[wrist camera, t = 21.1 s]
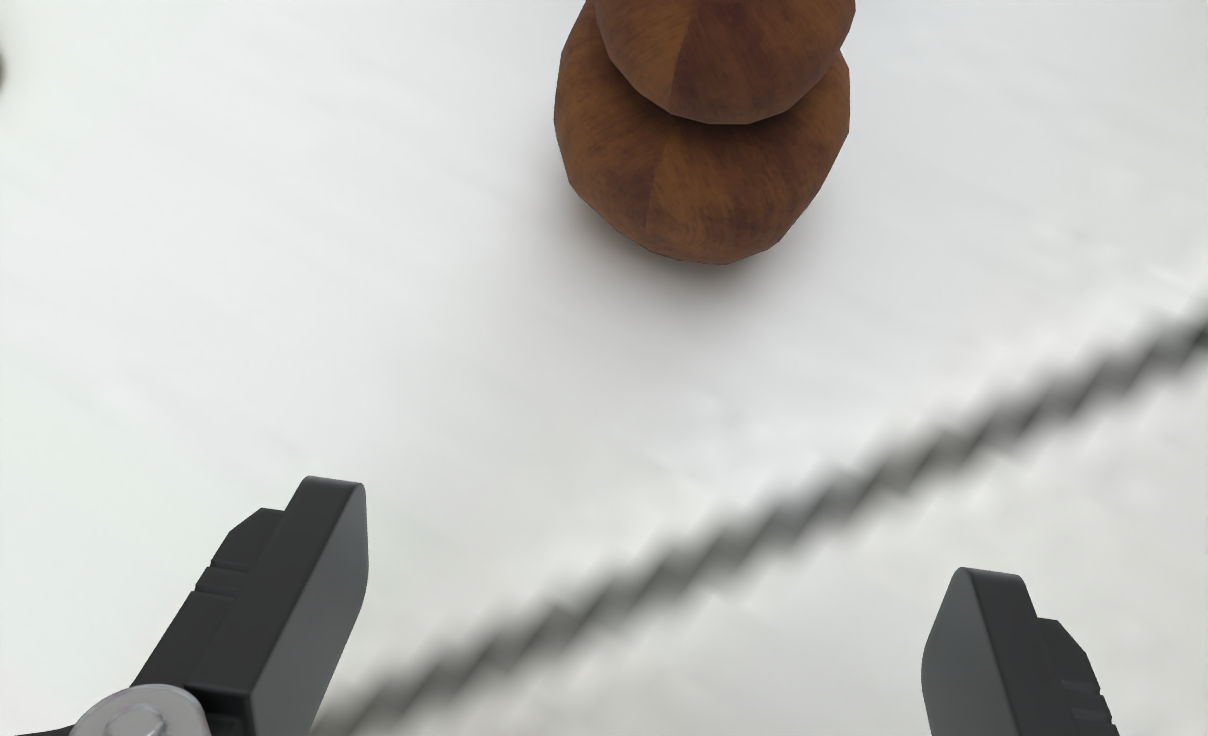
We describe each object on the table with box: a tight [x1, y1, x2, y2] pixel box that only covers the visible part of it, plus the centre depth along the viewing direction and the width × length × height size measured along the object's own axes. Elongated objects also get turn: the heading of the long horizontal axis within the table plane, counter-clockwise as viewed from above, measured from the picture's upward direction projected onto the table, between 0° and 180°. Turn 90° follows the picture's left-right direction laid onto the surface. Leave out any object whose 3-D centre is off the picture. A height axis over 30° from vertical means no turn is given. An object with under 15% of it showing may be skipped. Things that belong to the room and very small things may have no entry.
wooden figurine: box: [554, 0, 856, 265], centre depth 21 cm, size 7×6×15 cm
